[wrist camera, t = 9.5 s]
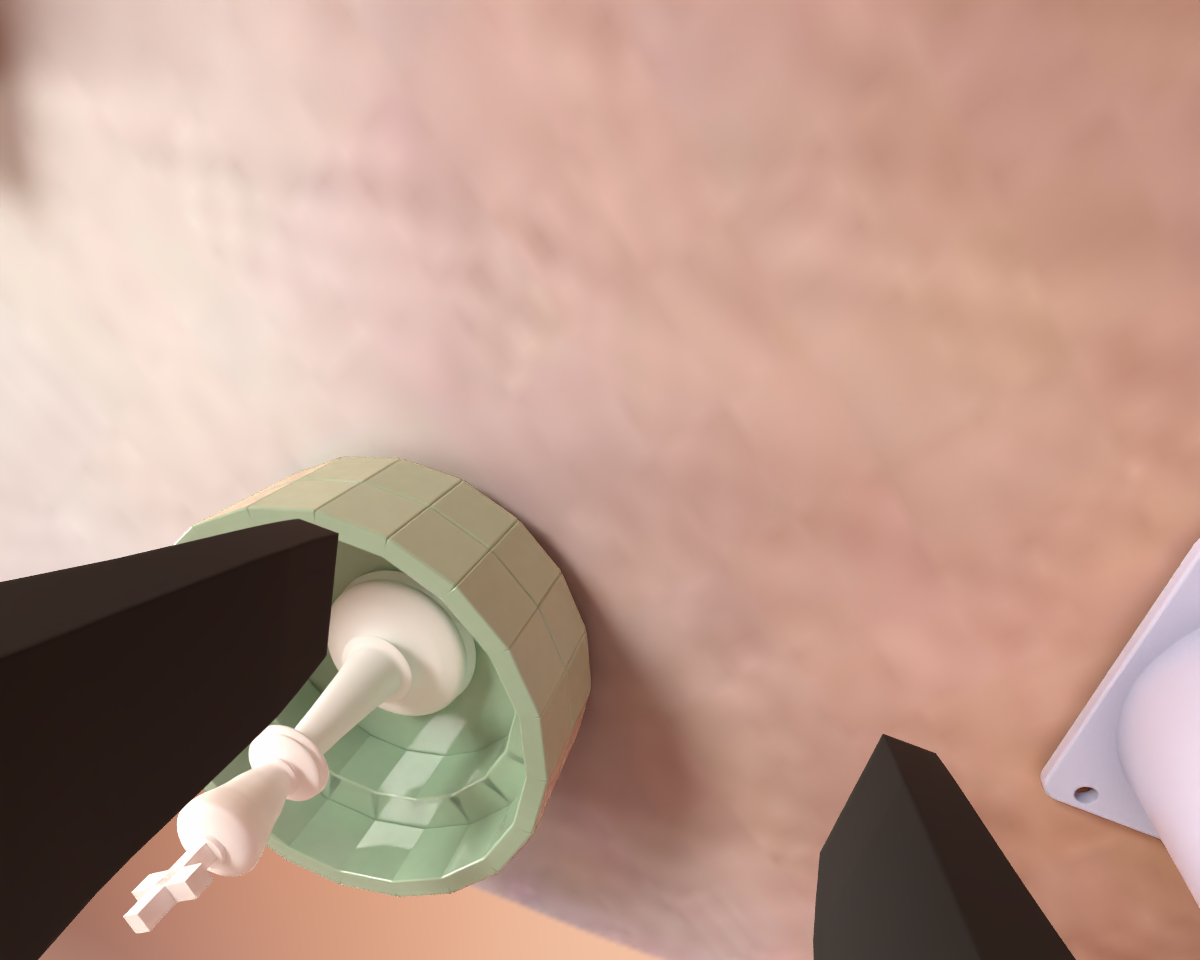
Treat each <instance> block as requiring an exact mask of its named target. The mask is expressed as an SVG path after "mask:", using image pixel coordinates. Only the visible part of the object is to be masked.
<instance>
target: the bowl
mask: <svg viewBox="0 0 1200 960" xmlns="http://www.w3.org/2000/svg"><path fill="white" fill-rule="evenodd" d="M298 518H299V519H301V520H304V521H307V522H310V523H312V524H315V525H318V526H320V527H323V528H326V529H329V530H331V531H334V532H337V533H339V536H338V546H337V556H336V566H335V576H334V586H333V596H332V605H333V603H334V602H335V600H336V599H337V598H338V597H339V596H340V595H341V594H342V592H343V591H344V590H345V588H346V587H347V586H348V585H349V584H350V583H351V582H352V581H354V580H355V579H357V578H358V577H360V576H362V575H364V574H367V573H370V572H374V571H382V570H391V571H399V572H404V573H405V574H407V575H408V576H409V577H411V578H412V579H414V580H415V581H416V582H418V583H419V584H421V585H422V586H423V587H425V588H426V589H428V590H429V591H430V592H432V593H433V594H435V595H436V596H437V597H439V598H440V599H441V600H442V601H443V602H444V603H445V604H446V605H447V607H448V608H449V609H450V610H451V611H452V613H453V614H454V615H455V616H456V617H457V618H458V620H459V621H460V622H461V623H462V624H463V626H464V627H465V628H466V629H467V630H468V631H469V633H470V634H471V635H472V636H473V639H474V643H475V648H476V665H475V670H474V674H473V676H472V679H471V681H470V683H469V684H468V686H467V687H466V689H465V690H464V691H463V692H462V693H461V694H460V695H459V696H457V697H456V698H455V699H454V700H453V701H452V702H451V703H450V704H449V705H448V706H446V707H445V708H443V709H441V710H439V711H437V712H435V713H432V714H428V715H422V716H407V715H400V714H396V713H392V712H389V711H386V710H384V709H382V708H379V707H377V708H375V709H374V710H373V711H372V712H371V713H370V714H368V715H367V716H366V717H365V718H364V719H363V720H361V721H360V722H359V723H358V724H357V725H355V726H354V727H353V728H352V729H351V730H350V731H349V732H347V733H346V734H345V735H344V736H343V737H342V738H341V739H339V740H338V741H337V742H336V743H335V744H334V745H333V746H332V747H331V748H330V749H329V750H328V751H327V752H326V753H325V754H323V755H324V757H325V759H326V762H327V765H328V769H329V778H328V783H327V785H326V787H325V788H324V789H323V790H322V791H321V792H320V793H319V794H317V795H315V796H314V797H312V798H311V799H308V800H305V801H292V800H288V799H286V801H285V803H284V806H283V809H282V811H281V813H280V815H279V817H278V819H277V820H276V822H275V824H274V826H273V829H272V831H271V833H270V836H269V839H268V843H267V846H268V847H269V848H271V849H272V850H274V851H275V852H277V853H278V854H279V855H281V856H282V857H283V858H285V859H286V860H288V861H290V862H292V863H295V864H296V865H299V866H301V867H303V868H306V869H307V870H310V871H312V872H314V873H316V874H318V875H320V876H323V877H325V878H327V879H329V880H331V881H333V882H336V883H338V884H342V885H345V886H349V887H354V888H359V889H364V890H368V891H373V892H378V893H383V894H387V895H392V896H398V897H405V896H421V895H435V894H451V893H452V892H456V891H458V890H460V889H463V888H465V887H467V886H469V885H472V884H474V883H476V882H479V881H481V880H483V879H485V878H488V877H490V876H492V875H494V874H497V873H498V872H499V871H501V870H502V869H503V868H504V867H505V865H506V864H507V863H508V862H509V861H510V860H511V859H512V858H513V856H514V855H515V854H516V853H517V852H518V851H519V850H520V849H521V847H522V846H523V845H524V844H525V843H526V842H527V841H528V840H529V838H530V837H531V836H532V835H533V833H534V831H535V829H536V827H537V825H538V822H539V820H540V818H541V815H542V813H543V811H544V809H545V806H546V804H547V802H548V800H549V797H550V795H551V793H552V791H553V788H554V786H555V784H556V782H557V779H558V777H559V775H560V772H561V770H562V768H563V766H564V763H565V761H566V759H567V757H568V754H569V752H570V750H571V748H572V745H573V743H574V741H575V739H576V736H577V734H578V731H579V728H580V724H581V721H582V718H583V714H584V711H585V708H586V704H587V701H588V698H589V694H590V691H591V676H590V664H589V652H588V640H587V632H586V628H585V625H584V623H583V621H582V618H581V616H580V614H579V611H578V609H577V607H576V604H575V602H574V599H573V597H572V595H571V592H570V590H569V588H568V585H567V583H566V581H565V578H564V576H563V574H562V573H561V570H560V569H559V568H558V566H557V565H556V564H555V563H554V562H553V560H552V559H551V558H550V557H549V555H548V554H547V553H546V552H545V551H544V549H543V548H542V547H541V546H540V544H539V543H538V542H537V541H536V540H535V538H534V537H533V536H532V535H531V533H530V532H529V531H528V530H527V529H526V527H525V526H524V525H523V524H522V522H521V521H517V520H518V519H517V518H516V517H515V516H513V515H512V514H511V513H509V512H508V511H506V510H505V509H503V508H502V507H501V506H499V505H498V504H496V503H495V502H494V501H492V500H491V499H489V498H488V497H487V496H485V495H484V494H482V493H481V492H479V491H478V490H477V489H475V488H474V487H472V486H471V485H470V484H468V483H467V482H465V481H462V480H461V479H459V478H457V477H454V476H451V475H448V474H445V473H442V472H439V471H437V470H434V469H431V468H428V467H425V466H422V465H420V464H417V463H414V462H411V461H408V460H405V459H400V458H377V457H339V458H337V459H334V460H331V461H328V462H326V463H323V464H320V465H317V466H314V467H312V468H309V469H306V470H303V471H300V472H298V473H295V474H293V475H291V476H289V477H287V478H285V479H283V480H281V481H279V482H277V483H275V484H273V485H271V486H269V487H267V488H265V489H263V490H261V491H259V492H258V493H256V494H254V495H252V496H250V497H248V498H246V499H244V500H242V501H240V502H238V503H236V504H234V505H232V506H230V507H228V508H226V509H224V510H222V511H220V512H218V513H216V514H214V515H212V516H210V517H208V518H206V519H204V520H202V521H200V522H199V523H197V524H195V525H193V526H191V527H190V528H189V529H188V530H187V531H186V532H185V533H184V534H183V535H182V536H181V537H180V538H179V539H178V540H177V541H176V542H175V543H174V544H173V545H177V544H181V543H186V542H190V541H194V540H198V539H203V538H207V537H211V536H215V535H219V534H224V533H228V532H232V531H237V530H241V529H245V528H250V527H254V526H259V525H264V524H269V523H274V522H279V521H285V520H292V519H298ZM173 545H172V546H173ZM331 607H332V606H331ZM338 672H339V671H338V669H337V668H336V666H335V664H334V662H333V660H332V657H331V655H330V652H329V648H328V646H327V656H326V657H325V658H324V660H323V661H322V662H321V664H320V665H319V666H318V667H317V669H316V670H315V671H314V673H313V674H312V675H311V676H310V678H309V679H308V680H307V682H306V683H305V684H304V685H303V687H302V688H301V689H300V690H299V692H298V693H297V694H296V695H295V696H294V698H293V699H292V700H291V701H290V702H289V704H288V705H287V706H286V707H285V708H284V710H283V711H282V712H281V713H280V714H279V716H278V717H277V718H276V719H275V720H274V721H273V722H272V723H271V724H270V725H269V726H271V725H283V726H288V727H291V728H294V729H295V727H296V726H297V725H298V723H299V722H300V721H301V720H302V719H303V717H304V716H305V715H306V714H307V713H308V711H309V710H310V709H311V707H312V706H313V705H314V703H315V702H316V701H317V700H318V698H319V697H320V696H321V694H322V693H323V692H324V690H325V689H326V688H327V686H328V685H329V684H330V682H331V681H332V680H333V679H334V677H335V676H336V675H337V673H338ZM251 743H252V742H251ZM251 743H250V744H249V745H248V746H247V747H246V748H245V749H244V750H243V751H242V752H241V753H240V754H239V755H238V756H237V757H236V758H235V759H234V760H233V761H232V762H231V763H230V764H229V765H228V766H227V767H226V768H225V769H224V770H222V771H221V772H220V773H219V774H218V775H217V776H216V777H215V778H214V779H213V780H212V781H211V782H210V783H209V784H208V785H207V786H206V787H205V788H204V789H203V790H204V791H205V792H207V791H209V790H212V789H215V788H217V787H219V786H221V785H223V784H225V783H227V782H229V781H230V780H232V779H233V778H235V777H236V776H238V775H240V774H242V773H244V772H246V771H248V770H251V769H252V767H251V764H250V761H249V748H250V745H251Z"/></svg>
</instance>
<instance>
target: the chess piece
mask: <svg viewBox="0 0 1200 960" xmlns="http://www.w3.org/2000/svg"><path fill="white" fill-rule="evenodd" d="M328 648H329V652H330V655H331V657H332V660H333V662H334V664H335V666H336V668H337V669H338V671H339V672H338V673H337V675H336V676H335V677H334V679H333V680H332V681H331V682H330V684H329V685H328V686H327V688H326V689H325V690H324V692H323V693H322V694H321V696H320V697H319V698H318V700H317V701H316V702H315V703H314V705H313V706H312V707H311V709H310V710H309V711H308V713H307V714H306V715H305V716H304V717H303V719H302V720H301V721H300V722H299V723H298V725H297V726H296V727H295V729H294V728H291V727H288V726H283V725H271V726H268V727H267V728H266V729H265V730H264V731H263V732H262V733H261V734H260V735H259V736H258V737H257V738H255V739H254V740H253V741H252V743H251V745H250V748H249V761H250V764H251V767H252V769H251V770H248V771H246V772H244V773H242V774H240V775H238V776H236V777H235V778H233V779H232V780H230V781H229V782H227V783H225V784H223V785H221V786H219V787H217V788H215V789H212V790H209V791H207V792H205V793H203V794H202V795H200V796H198V797H196V798H194V799H193V800H191V801H190V802H189V803H188V804H187V805H186V806H185V807H184V808H183V809H182V810H181V811H180V813H179V816H178V819H177V831H178V835H179V838H180V841H181V843H182V845H183V847H184V848H185V850H186V851H187V852H186V853H185V854H184V855H183V856H182V857H181V858H180V859H179V860H178V861H177V862H176V863H175V864H174V865H173V866H172V867H171V868H170V869H169V870H167V871H163V872H158V873H153V874H149V875H148V876H147V878H145V879H144V880H143V881H142V883H140V884H139V885H138V886H137V888H136V889H134V890H133V892H132V894H133V895H134V896H135V897H136V899H137V900H138V902H137V903H136V904H135V905H134V906H133V907H132V908H131V909H130V910H129V911H128V912H127V913H126V914H125V915H124V916H123V917H124V918H125V919H126V921H127V922H128V923H129V925H130V926H131V927H132V929H133V930H134V931H135V933H143V932H149V931H151V930H152V929H153V928H154V926H155V925H156V924H157V923H158V922H159V921H160V920H161V919H162V918H163V917H164V916H165V915H166V914H167V912H168V911H169V910H170V909H171V908H172V907H173V906H174V905H175V904H176V903H177V902H181V901H187V900H192V899H197V898H198V897H199V896H200V895H201V893H202V892H203V891H204V890H205V889H206V888H207V887H208V886H209V885H210V883H211V882H212V881H213V880H214V879H213V878H212V876H211V875H210V873H209V872H208V871H207V870H209V871H211V872H213V873H216V874H219V875H223V876H240V875H244V874H246V873H248V872H249V871H251V870H252V869H253V868H254V867H255V866H256V864H257V863H258V861H259V859H260V857H261V856H262V854H263V851H264V849H265V847H266V845H267V843H268V839H269V836H270V833H271V831H272V829H273V826H274V824H275V822H276V820H277V819H278V817H279V815H280V813H281V811H282V809H283V806H284V803H285V801H286V799H288V800H292V801H305V800H308V799H311V798H312V797H314V796H315V795H317V794H319V793H320V792H321V791H322V790H323V789H324V788H325V787H326V785H327V783H328V778H329V769H328V765H327V762H326V759H325V757H324V755H323V754H325V753H326V752H327V751H328V750H329V749H330V748H331V747H332V746H333V745H334V744H335V743H336V742H337V741H338V740H339V739H341V738H342V737H343V736H344V735H345V734H346V733H347V732H349V731H350V730H351V729H352V728H353V727H354V726H355V725H357V724H358V723H359V722H360V721H361V720H363V719H364V718H365V717H366V716H367V715H368V714H370V713H371V712H372V711H373V710H374V709H375V708H377V707H379V708H382V709H384V710H386V711H389V712H392V713H396V714H400V715H407V716H422V715H428V714H432V713H435V712H437V711H439V710H441V709H443V708H445V707H446V706H448V705H449V704H450V703H451V702H452V701H453V700H454V699H455V698H456V697H457V696H459V695H460V694H461V693H462V692H463V691H464V690H465V689H466V687H467V686H468V684H469V683H470V681H471V679H472V676H473V674H474V670H475V665H476V648H475V643H474V639H473V636H472V635H471V634H470V633H469V631H468V630H467V629H466V628H465V627H464V626H463V624H462V623H461V622H460V621H459V620H458V618H457V617H456V616H455V615H454V614H453V613H452V611H451V610H450V609H449V608H448V607H447V605H446V604H445V603H444V602H443V601H442V600H441V599H440V598H439V597H437V596H436V595H435V594H433V593H432V592H430V591H429V590H428V589H426V588H425V587H423V586H422V585H421V584H419V583H418V582H416V581H415V580H414V579H412V578H411V577H409V576H408V575H407V574H405V573H404V572H399V571H391V570H382V571H374V572H370V573H367V574H364V575H362V576H360V577H358V578H357V579H355V580H354V581H352V582H351V583H350V584H349V585H348V586H347V587H346V588H345V590H344V591H343V592H342V594H341V595H340V596H339V597H338V598H337V599H336V600H335V602H334V603H333V605H332V607H331V616H330V626H329V636H328Z"/></svg>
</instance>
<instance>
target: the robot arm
mask: <svg viewBox="0 0 1200 960" xmlns="http://www.w3.org/2000/svg"><path fill="white" fill-rule="evenodd" d="M338 536H339V533H337V532H334V531H331V530H329V529H326V528H323V527H320V526H318V525H315V524H312V523H310V522H307V521H304V520H301V519H299V518H298V519H292V520H285V521H279V522H274V523H269V524H264V525H259V526H254V527H250V528H245V529H241V530H237V531H232V532H228V533H224V534H219V535H215V536H211V537H207V538H203V539H198V540H194V541H190V542H186V543H181V544H177V545H173V546H168V547H164V548H160V549H156V550H151V551H147V552H143V553H139V554H134V555H130V556H126V557H121V558H117V559H112V560H107V561H102V562H98V563H93V564H88V565H83V566H78V567H73V568H68V569H63V570H58V571H53V572H49V573H44V574H39V575H34V576H29V577H24V578H19V579H14V580H9V581H4V582H0V960H38V959H39V958H40V957H41V955H42V954H43V953H44V952H45V951H46V950H47V949H48V948H49V946H50V945H51V944H52V943H53V942H54V941H55V940H56V939H57V937H58V936H59V935H60V934H61V933H62V932H63V931H64V930H65V928H66V927H67V926H68V925H69V924H70V923H71V922H72V920H73V919H74V918H75V917H76V916H77V914H79V913H80V911H81V910H82V909H83V908H84V907H85V906H86V905H87V903H88V902H89V901H90V900H91V899H92V898H93V897H94V896H95V894H96V893H97V892H98V891H99V890H100V889H101V888H102V887H103V886H104V885H105V884H106V883H107V882H108V881H109V880H110V879H111V878H112V877H113V876H114V875H115V874H116V873H117V872H118V871H119V870H120V869H121V868H122V867H123V865H125V864H126V863H127V862H128V860H129V859H130V858H131V857H132V856H133V855H134V854H136V853H137V851H138V850H140V849H141V848H142V847H143V846H144V845H145V844H146V843H147V842H148V841H149V840H150V839H151V838H152V837H153V836H154V835H155V834H157V833H158V832H159V830H161V829H162V828H163V827H164V826H165V825H166V824H167V823H168V822H169V821H170V820H171V819H172V818H173V817H174V816H175V815H176V814H177V813H178V812H180V811H181V810H182V809H183V808H184V807H185V806H186V805H187V804H188V803H189V802H190V801H191V800H192V799H193V798H194V797H195V796H196V795H197V794H198V793H199V792H200V791H201V790H203V789H204V788H205V787H206V786H207V785H208V784H209V783H210V782H211V781H212V780H213V779H214V778H215V777H216V776H217V775H218V774H219V773H220V772H221V771H222V770H224V769H225V768H226V767H227V766H228V765H229V764H230V763H231V762H232V761H233V760H234V759H235V758H236V757H237V756H238V755H239V754H240V753H241V752H242V751H243V750H244V749H245V748H246V747H247V746H248V745H249V744H250V743H251V742H252V741H253V740H254V739H255V738H257V737H258V736H259V735H260V734H261V733H262V732H263V731H264V730H265V729H266V728H267V727H268V726H269V725H270V724H271V723H272V722H273V721H274V720H275V719H276V718H277V717H278V716H279V714H280V713H281V712H282V711H283V710H284V708H285V707H286V706H287V705H288V704H289V702H290V701H291V700H292V699H293V698H294V696H295V695H296V694H297V693H298V692H299V690H300V689H301V688H302V687H303V685H304V684H305V683H306V682H307V680H308V679H309V678H310V676H311V675H312V674H313V673H314V671H315V670H316V669H317V667H318V666H319V665H320V664H321V662H322V661H323V660H324V658H325V657H326V656H327V646H328V636H329V626H330V616H331V606H332V596H333V586H334V576H335V566H336V556H337V546H338ZM1040 780H1041V784H1042V786H1043V788H1044V791H1045V792H1046V793H1047V794H1048V796H1049V797H1051V798H1053V799H1055V800H1057V801H1060V802H1062V803H1065V804H1068V805H1070V806H1073V807H1076V808H1078V809H1081V810H1084V811H1086V812H1089V813H1092V814H1094V815H1097V816H1100V817H1102V818H1105V819H1108V820H1110V821H1113V822H1116V823H1118V824H1121V825H1124V826H1126V827H1129V828H1132V829H1134V830H1137V831H1140V832H1142V833H1145V834H1148V835H1150V836H1153V837H1156V838H1158V839H1161V840H1162V842H1163V844H1164V846H1165V847H1166V849H1167V851H1168V853H1169V854H1170V856H1171V858H1172V860H1173V862H1174V863H1175V865H1176V867H1177V869H1178V870H1179V872H1180V874H1181V876H1182V878H1183V879H1184V881H1185V883H1186V885H1187V886H1188V888H1189V890H1190V892H1191V894H1192V895H1193V897H1194V899H1195V901H1196V903H1197V904H1198V906H1199V908H1200V538H1199V539H1198V540H1197V541H1196V542H1195V543H1194V545H1193V546H1192V548H1191V549H1190V551H1189V552H1188V554H1187V555H1186V557H1185V558H1184V560H1183V561H1182V563H1181V564H1180V566H1179V567H1178V569H1177V570H1176V571H1175V573H1174V574H1173V576H1172V577H1171V579H1170V580H1169V582H1168V583H1167V585H1166V586H1165V588H1164V589H1163V591H1162V592H1161V594H1160V595H1159V597H1158V598H1157V600H1156V601H1155V603H1154V604H1153V606H1152V607H1151V609H1150V610H1149V612H1148V613H1147V615H1146V616H1145V618H1144V619H1143V621H1142V622H1141V624H1140V625H1139V627H1138V628H1137V630H1136V631H1135V633H1134V634H1133V636H1132V637H1131V639H1130V640H1129V642H1128V643H1127V644H1126V646H1125V647H1124V649H1123V650H1122V652H1121V653H1120V655H1119V656H1118V658H1117V659H1116V661H1115V662H1114V664H1113V665H1112V667H1111V668H1110V670H1109V671H1108V673H1107V674H1106V676H1105V677H1104V679H1103V680H1102V682H1101V683H1100V685H1099V686H1098V688H1097V689H1096V691H1095V692H1094V694H1093V695H1092V697H1091V698H1090V700H1089V701H1088V703H1087V704H1086V706H1085V707H1084V709H1083V710H1082V712H1081V713H1080V715H1079V716H1078V717H1077V719H1076V720H1075V722H1074V723H1073V725H1072V726H1071V728H1070V729H1069V731H1068V732H1067V734H1066V735H1065V737H1064V738H1063V740H1062V741H1061V743H1060V744H1059V746H1058V747H1057V749H1056V750H1055V752H1054V753H1053V755H1052V756H1051V758H1050V759H1049V761H1048V762H1047V764H1046V765H1045V767H1044V768H1043V770H1042V772H1041V774H1040ZM1082 787H1090V788H1091V789H1090V790H1088V791H1086V792H1077V791H1076V790H1077V789H1079V788H1082ZM813 948H814V960H1076V959H1075V958H1074V956H1073V955H1072V953H1071V952H1070V951H1069V949H1068V948H1067V946H1066V945H1065V944H1064V942H1063V941H1062V939H1061V938H1060V936H1059V935H1058V934H1057V932H1056V931H1055V929H1054V928H1053V926H1052V925H1051V923H1050V922H1049V921H1048V919H1047V918H1046V916H1045V915H1044V913H1043V912H1042V910H1041V909H1040V907H1039V906H1038V904H1037V903H1036V902H1035V900H1034V899H1033V897H1032V896H1031V894H1030V893H1029V891H1028V890H1027V888H1026V887H1025V885H1024V884H1023V882H1022V881H1021V879H1020V878H1019V876H1018V875H1017V873H1016V872H1015V870H1014V869H1013V867H1012V866H1011V864H1010V863H1009V861H1008V860H1007V858H1006V857H1005V855H1004V854H1003V852H1002V851H1001V849H1000V848H999V846H998V845H997V843H996V842H995V840H994V839H993V837H992V836H991V834H990V833H989V831H988V830H987V828H986V827H985V825H984V824H983V822H982V821H981V819H980V818H979V816H978V814H977V813H976V811H975V810H974V808H973V807H972V805H971V804H970V802H969V801H968V799H967V798H966V796H965V795H964V793H963V792H962V790H961V789H960V787H959V786H958V784H957V783H956V781H955V780H954V778H953V777H952V776H951V774H950V773H949V771H948V770H947V768H946V767H945V765H944V764H943V763H942V761H941V760H940V759H939V757H938V756H937V755H936V753H933V752H931V751H928V750H925V749H922V748H920V747H917V746H914V745H912V744H909V743H906V742H903V741H901V740H898V739H895V738H893V737H890V736H887V735H885V734H883V735H882V737H881V738H880V740H879V742H878V744H877V746H876V748H875V750H874V752H873V754H872V755H871V757H870V759H869V761H868V763H867V765H866V767H865V769H864V771H863V772H862V774H861V776H860V778H859V780H858V782H857V784H856V786H855V788H854V790H853V791H852V793H851V795H850V797H849V799H848V801H847V803H846V805H845V807H844V808H843V810H842V812H841V814H840V816H839V818H838V820H837V822H836V824H835V825H834V827H833V829H832V831H831V833H830V835H829V837H828V839H827V841H826V842H825V844H824V846H823V848H822V850H821V852H820V859H819V870H818V882H817V893H816V906H815V922H814V937H813Z"/></svg>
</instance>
